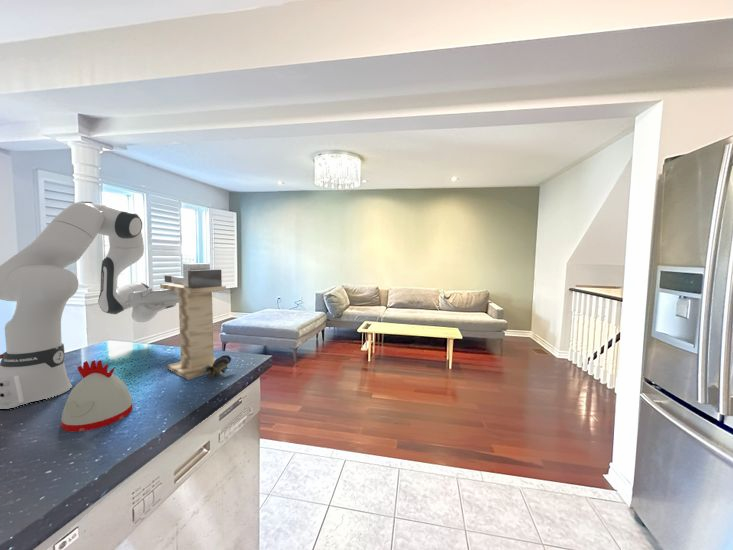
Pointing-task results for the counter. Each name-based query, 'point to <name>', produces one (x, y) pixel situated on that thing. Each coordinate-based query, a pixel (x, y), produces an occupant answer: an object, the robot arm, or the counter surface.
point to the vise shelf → (196, 321)
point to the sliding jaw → (186, 273)
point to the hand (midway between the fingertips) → (163, 288)
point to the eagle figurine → (217, 366)
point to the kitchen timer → (96, 399)
